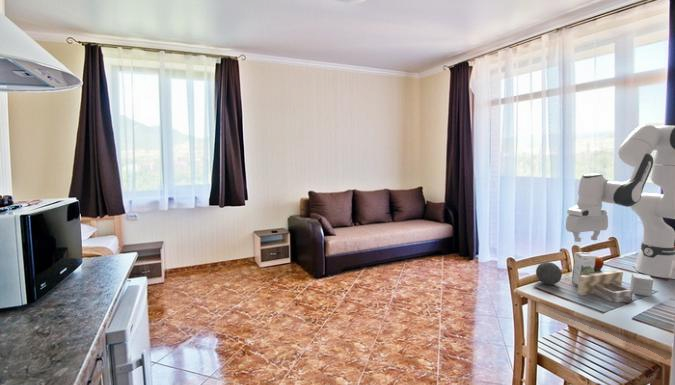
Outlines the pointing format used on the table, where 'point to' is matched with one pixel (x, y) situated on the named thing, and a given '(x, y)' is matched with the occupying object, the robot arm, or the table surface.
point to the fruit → (598, 263)
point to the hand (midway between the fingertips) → (585, 240)
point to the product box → (641, 284)
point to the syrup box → (582, 265)
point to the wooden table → (605, 286)
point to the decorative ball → (548, 273)
